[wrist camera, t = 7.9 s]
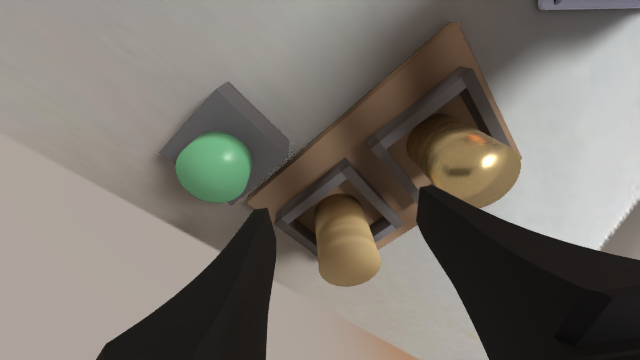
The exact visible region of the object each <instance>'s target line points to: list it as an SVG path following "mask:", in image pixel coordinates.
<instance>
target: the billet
mask: <svg viewBox="0 0 640 360" xmlns="http://www.w3.org/2000/svg"><path fill="white" fill-rule="evenodd" d="M407 153H408V156H409V158H410V159H411V160H412V161H413V162H414V163H415V165H416V166H417V167H418V168H419V169H420V170H421V171H422V172H423V173H424V175H425V176H426V177H427V178H428V179H429V180H430V181H431V182H432V183H433V185H434V186H435V187H438V188H440V189H442V190H444V191H446V192H448V193H449V194H451V195H453V196H455V197H457V198H459V199H461V200H463V201H465V202H467V203H469V204H471V205H473V206H475V207H477V208H482V207H485V206H488V205H490V204H492V203H494V202H496V201H497V200H499V199H500V198H501V197H503V196H504V195H505V194H506V193H507V192H508V191H509V190H510V189H511V188H512V187H513V185H514V184H515V182H516V180H517V178H518V176H519V173H520V169H521V161H520V157H519V155H518V154H517V152H516V151H515V150H514V149H512V148H511V147H509V146H507V145H505V144H503V143H501V142H499V141H498V140H496V139H494V138H492V137H490V136H488V135H486V134H484V133H482V132H480V131H479V130H477V129H475V128H473V127H471V126H469V125H467V124H465V123H463V122H461V121H460V120H458V119H456V118H454V117H452V116H450V115H446V114H436V115H432V116H429V117H427V118H426V119H425V120H423V121H422V122H421V123H420V124H418V125H417V126H416V127H414V129H413V130H412V131H411V133H410V135H409V137H408V140H407Z"/></svg>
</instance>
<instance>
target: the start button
mask: <svg viewBox="0 0 640 360" xmlns="http://www.w3.org/2000/svg"><path fill="white" fill-rule="evenodd" d="M252 166H253V162H252V157H251V154H250V152H249V150H248V148H247V147H246V146H245V144H244V143H243V142H242V141H240V140H239V139H238V138H236V137H235V136H233V135H230V134H228V133H224V132H219V131H211V132H206V133H203V134H201V135H199V136H198V137H196V138H195V139H194V140H193V141H192V142H191V143H190V144H189V145H188V146H187V147H186V148H185V149H184V150H183V151H182V152H181V153H180V154H179V156H178V158H177V161H176V174H177V177H178V180H179V182H180V183H181V185H182V186H183V187H184V188H185V189H186V190H187V191H188V192H189V193H190V194H192V195H193V196H195V197H197V198H199V199H201V200H204V201H207V202H213V203H222V202H227V201H231V200H233V199H235V198H237V197H238V196H239V195H240V194H241V193H242V192H243V191H244V189H245V187H246V185H247V182H248V179H249V177H250V174H251V171H252Z"/></svg>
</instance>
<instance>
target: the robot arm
mask: <svg viewBox="0 0 640 360" xmlns="http://www.w3.org/2000/svg"><path fill="white" fill-rule="evenodd" d="M538 8H539V9H540V10H575V9H626V8H640V0H556V2H555V4H554V0H539V1H538ZM416 222H417V224H418V227H419V229H420V231H421V233H422V235H423V237H424V239H425V241H426V243H427V244H428V246H429V247H430V249H431V251H432V252H433V254H434V255H435V257H436V258H437V260H438V261H439V263H440V265H441V266H442V268H443V269H444V271H445V272H446V274H447V275H448V277H449V279H450V280H451V282H452V284H453V285H454V287H455V289H456V291H457V293H458V295H459V296H460V298H461V300H462V302H463V304H464V306H465V308H466V310H467V312H468V314H469V316H470V319H471V321H472V323H473V325H474V327H475V329H476V331H477V333H478V335H479V338H480V340H481V342H482V344H483V347H484V349H485V351H486V353H487V356H488V358H489V360H640V260H636V259H631V258H627V257H622V256H617V255H613V254H609V253H605V252H601V251H597V250H593V249H589V248H586V247H582V246H578V245H575V244H571V243H568V242H564V241H561V240H558V239H555V238H552V237H548V236H545V235H542V234H539V233H536V232H533V231H531V230H528V229H525V228H523V227H520V226H518V225H515V224H512V223H510V222H507V221H505V220H503V219H500V218H498V217H496V216H494V215H491V214H489V213H487V212H485V211H483V210H481V209H479V208H477V207H475V206H473V205H471V204H469V203H467V202H465V201H463V200H461V199H459V198H457V197H455V196H453V195H451V194H449V193H448V192H446V191H444V190H442V189H440V188H438V187H435V186H433V185H430V186H423V187H420V189H419V198H418V207H417V216H416ZM275 262H276V237H275V234H274V230H273V226H272V222H271V219H270V215H269V211H268V208H262V209H255V210H254V211H253V212H252V213H251V215H250V216H249V217H248V219H247V220H246V221H245V223H244V224H243V225H242V227H241V228H240V230H239V231H238V232H237V233H236V235H235V236H234V237H233V238H232V240H231V241H230V242H229V243H228V245H227V246H226V247H225V248H224V249H223V250H222V252H221V253H220V254H219V255H218V256H217V258H216V259H214V260H213V261H212V263H211V264H210V265H209V266H207V268H206V269H204V271H202V272H201V273H200V274H199V275H198V276H197V277H196V278H195V279H194V280H193V281H191V282H190V283H189V284H188V285H187V286H186V287H185V288H183V289H182V290H181V291H180V292H179V293H177V294H176V295H175V296H174V297H172V298H171V299H170V300H169V301H167V302H166V303H165V304H164V305H162V306H161V307H159V308H158V309H157V310H155V311H154V312H153V313H152V314H150V315H149V316H147V317H146V318H144V319H143V320H142V321H140V322H139V323H137V324H136V325H134V326H133V327H131V328H130V329H128V330H127V331H125V332H124V333H122V334H121V335H119V336H118V337H116V338H115V339H113V340H111V341H110V342H108V343H107V344H106V345H105V346H104V348H103V349H102V351H101V353H100V354H99V356H98V357H97V359H96V360H266V341H267V322H268V310H269V302H270V295H271V288H272V282H273V276H274V269H275Z"/></svg>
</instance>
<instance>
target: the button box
mask: <svg viewBox="0 0 640 360" xmlns="http://www.w3.org/2000/svg"><path fill="white" fill-rule="evenodd" d="M211 131H219V132H224V133H228V134H230V135H233V136H235V137H236V138H238V139H239V140H240V141H242V142H243V143H244V144H245V146H246V147H247V148H248V150H249V152H250V154H251V157H252V162H253V166H252V171H251V174H250V177H249V179H248V182H247V185H246V187H245V189H244V191H243V192H242V193H241V194H240V195H239V196H238V197H237V198H235V199H233V200H231V201H227V202H228V203H229V204H230V205H233V204H234V203H235V202H236V201H238V200H239V199H240V198H241V197H242V196H243V195H244V194H246V193H247V192H248V191H249V190H250V189H251V188H252V187H254V186H255V185H256V184H257V183H258V182H259V181H260V180H262V179H263V178H264V177H265V176H266V175H267V174H268V173H270V172H271V171H272V170H273V169H274V168H275V167H276V166H278V165H279V164H280V163H281V162H282V161H283V160H285V159H286V158H287V157H288V149H289V140H288V139H287V138H286V137H285V136H284V135H283V134H282V133H281V132H280V131H279V130H278V129H277V128H276V127H275V126H274V125H273V124H272V123H271V122H270V121H268V120H267V119H266V118H265V117H264V116H263V115H262V114H261V113H260V112H259V111H258V110H257V109H256V108H255V107H254V106H253V105H252V104H251V103H250V102H249V101H248V100H247V99H246V98H245V97H244V96H243V95H242V94H241V93H240V92H239V91H238V90H237V89H236V88H235V87H234V86H233V85H232V84H231V83H230V82H229V81H228V82H227V83H225V84H224V85H222V86H220V87H219V88H217V89H216V90H215V91H214V92H213V93H212V94H211V95H210V97H209V98H208V99H207V100H206V101H205V102H204V103H203V104H202V105H201V107H200V108H199V109H198V110H197V111H196V112H195V113H194V114H193V115H192V117H191V118H190V119H189V120H188V121H187V122H186V123H185V124H184V125H183V127H182V128H181V129H180V130H179V131H178V132H177V133H176V134H175V135H174V137H173V138H172V139H171V140H170V141H169V142H168V143H167V144H166V145H165V147H164V148H163V149H162V150H161V151H160V152H159V153H160V154H161V155H163V156H164V157H166V158H167V159H168V160H170V161H171V162H172V163H174V164H175V165H176V161H177V158H178V156H179V154H180V153H181V152H182V151H183V150H184V149H185V148H186V147H187V146H188V145H189V144H190V143H191V142H192V141H193V140H194V139H195V138H196V137H198V136H199V135H201V134H203V133H206V132H211Z"/></svg>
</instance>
